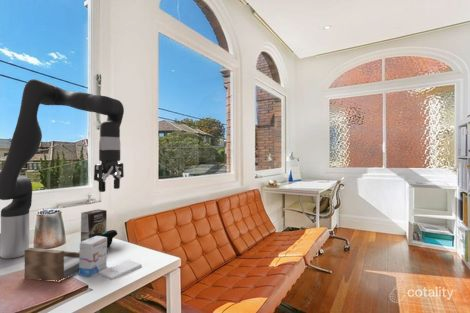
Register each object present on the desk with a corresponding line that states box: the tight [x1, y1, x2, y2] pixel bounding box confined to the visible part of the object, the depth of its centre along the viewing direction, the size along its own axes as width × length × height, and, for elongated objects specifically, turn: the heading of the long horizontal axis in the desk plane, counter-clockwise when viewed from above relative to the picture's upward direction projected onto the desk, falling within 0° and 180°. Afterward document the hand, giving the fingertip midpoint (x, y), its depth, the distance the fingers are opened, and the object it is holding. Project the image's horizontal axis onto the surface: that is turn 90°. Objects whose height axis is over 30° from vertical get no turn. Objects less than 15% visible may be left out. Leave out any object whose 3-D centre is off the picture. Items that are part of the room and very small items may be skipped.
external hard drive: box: [97, 259, 142, 281], centre depth 95 cm, size 2×8×12 cm
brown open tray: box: [24, 247, 80, 281], centre depth 94 cm, size 14×14×10 cm
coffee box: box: [80, 208, 108, 243], centre depth 121 cm, size 9×6×16 cm
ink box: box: [78, 236, 108, 277], centre depth 95 cm, size 9×5×12 cm, turn 168°
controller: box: [89, 229, 118, 250], centre depth 114 cm, size 4×12×10 cm, turn 149°
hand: (109, 190), depth 100 cm, fingers open, 8 cm apart
